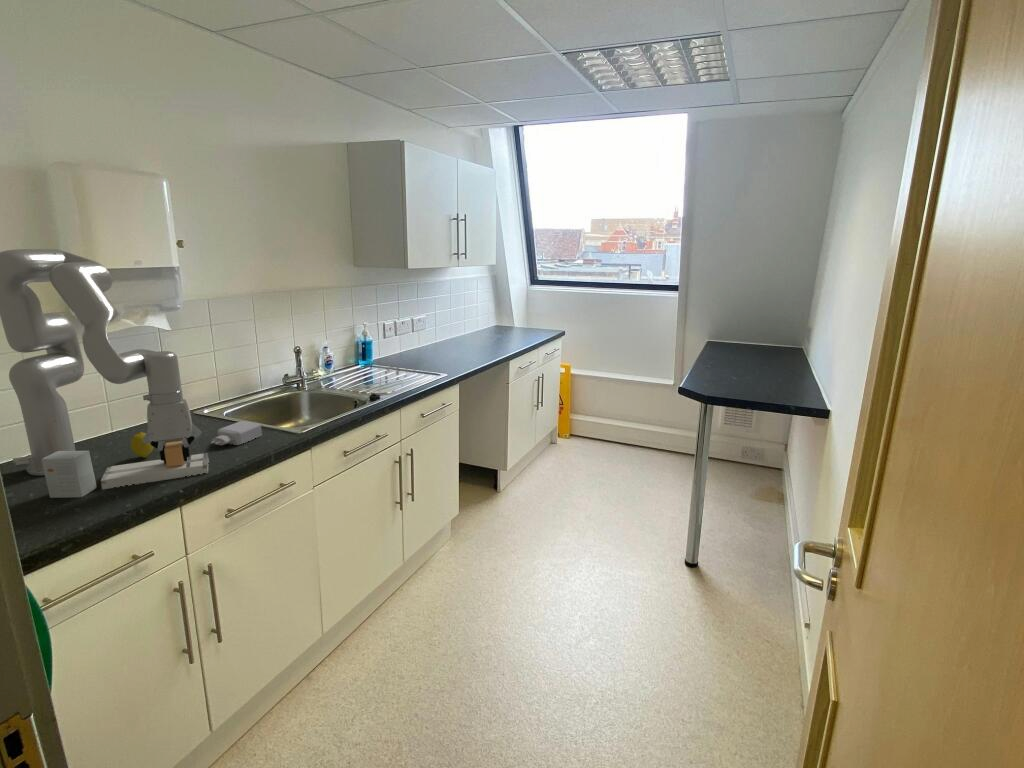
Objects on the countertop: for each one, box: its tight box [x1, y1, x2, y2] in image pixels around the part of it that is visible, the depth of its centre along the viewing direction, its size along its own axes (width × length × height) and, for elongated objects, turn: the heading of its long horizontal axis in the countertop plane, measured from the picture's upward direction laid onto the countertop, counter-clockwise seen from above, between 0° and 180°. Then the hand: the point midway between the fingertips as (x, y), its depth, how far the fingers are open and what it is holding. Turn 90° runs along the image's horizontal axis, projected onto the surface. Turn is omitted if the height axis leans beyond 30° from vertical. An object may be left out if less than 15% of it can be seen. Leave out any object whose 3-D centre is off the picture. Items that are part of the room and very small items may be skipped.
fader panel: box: [100, 452, 210, 490], centre depth 152 cm, size 24×10×3 cm, turn 117°
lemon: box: [130, 431, 154, 458], centre depth 162 cm, size 6×6×8 cm
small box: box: [41, 450, 98, 499], centre depth 139 cm, size 8×6×10 cm
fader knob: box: [164, 440, 184, 467], centre depth 153 cm, size 4×6×6 cm, turn 27°
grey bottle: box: [210, 420, 263, 446], centre depth 176 cm, size 5×9×15 cm
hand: (176, 460), depth 153 cm, fingers closed on fader knob, 4 cm apart
